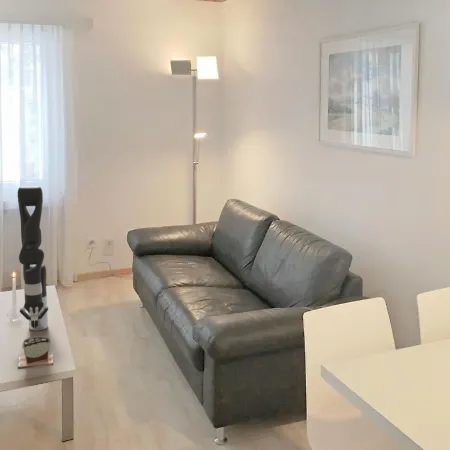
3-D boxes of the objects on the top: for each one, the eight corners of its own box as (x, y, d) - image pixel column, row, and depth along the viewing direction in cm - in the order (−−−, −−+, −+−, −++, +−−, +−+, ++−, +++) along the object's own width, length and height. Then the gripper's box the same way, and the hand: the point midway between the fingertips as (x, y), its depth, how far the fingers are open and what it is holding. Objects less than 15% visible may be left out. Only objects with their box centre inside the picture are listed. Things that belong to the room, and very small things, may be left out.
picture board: (18, 357, 264) (18, 355, 263) (52, 354, 268) (52, 352, 268) (18, 368, 253) (18, 367, 253) (53, 364, 258) (53, 363, 258)
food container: (46, 353, 267) (46, 333, 264) (51, 358, 262) (50, 338, 260) (19, 359, 260) (18, 339, 258) (23, 365, 255) (22, 344, 253)
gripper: (17, 295, 255) (19, 332, 260) (48, 293, 259) (50, 329, 263) (17, 289, 262) (19, 325, 266) (48, 287, 266) (49, 322, 270)
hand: (34, 327), depth 265 cm, fingers closed
